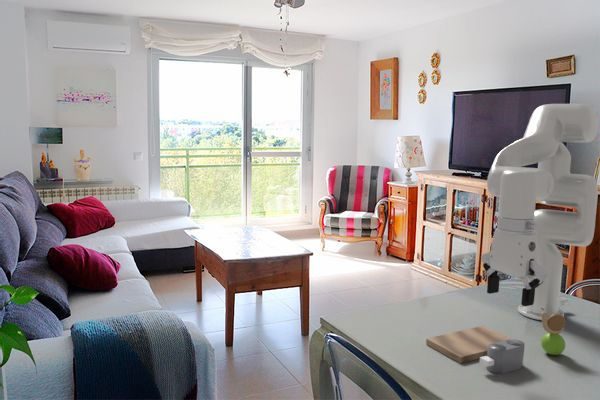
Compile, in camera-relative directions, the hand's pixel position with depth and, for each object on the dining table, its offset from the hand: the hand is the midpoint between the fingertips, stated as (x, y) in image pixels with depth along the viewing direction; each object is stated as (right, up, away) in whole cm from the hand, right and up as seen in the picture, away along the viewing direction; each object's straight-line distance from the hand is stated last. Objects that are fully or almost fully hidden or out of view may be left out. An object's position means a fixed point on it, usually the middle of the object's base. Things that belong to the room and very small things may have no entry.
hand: (509, 298), depth 120 cm
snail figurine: (+14, -16, +10) cm, 23 cm away
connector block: (0, -17, +3) cm, 17 cm away
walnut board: (-4, -15, +14) cm, 21 cm away
